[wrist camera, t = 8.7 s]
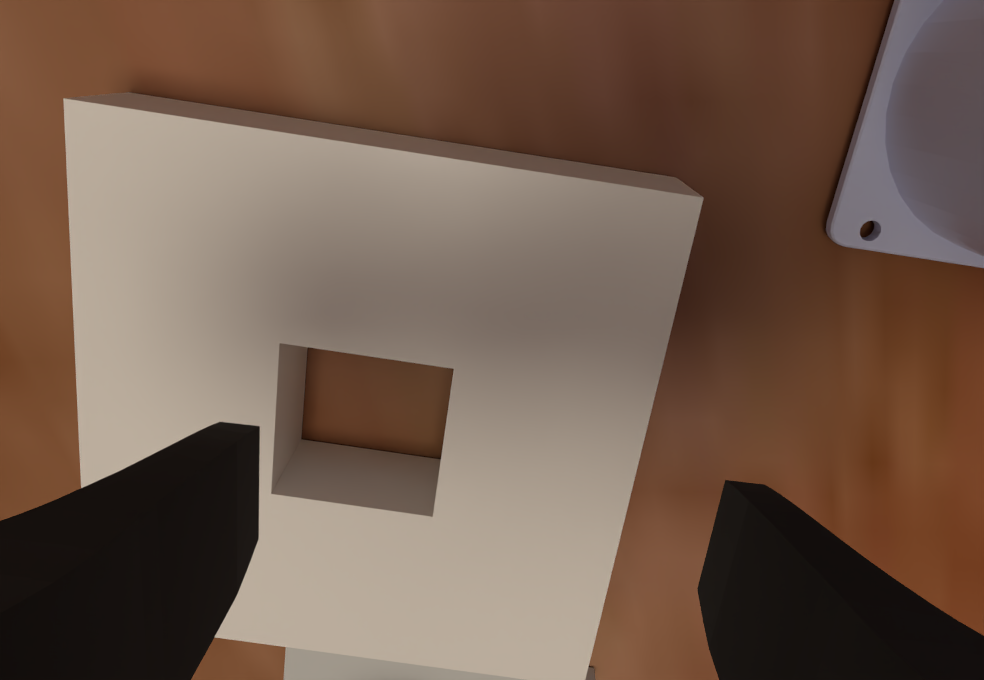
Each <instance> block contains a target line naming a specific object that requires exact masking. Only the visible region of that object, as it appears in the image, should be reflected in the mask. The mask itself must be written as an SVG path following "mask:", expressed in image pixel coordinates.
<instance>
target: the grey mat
mask: <svg viewBox="0 0 984 680" xmlns="http://www.w3.org/2000/svg"><path fill="white" fill-rule="evenodd" d="M284 680H525V679H517V678H510V677H503V676H495V675H488V674H481V673H473V672H466V671H459V670H451V669H444V668H437V667H429V666H422V665H415V664H407V663H400V662H393V661H385V660H378V659H371V658H363V657H356V656H349V655H341V654H334V653H327V652H319V651H312V650H305V649H297V648H290V647H286V653H285V667H284ZM585 680H595V672H594V668H592V667H588V671H587V675H586V679H585Z"/></svg>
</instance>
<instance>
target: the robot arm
mask: <svg viewBox="0 0 984 680" xmlns="http://www.w3.org/2000/svg"><path fill="white" fill-rule="evenodd" d="M867 221H873V223H874V230H873V231H872V233H871V234H870V235H869V236H867V237H863V238H861V236H860V229H861V227H862V225H863V224H864V223H866V222H867ZM826 232H827V235H828V237H829V238H830V239H831V240H832V241H833V242H835V243H837V244H839V245H841V246H844V247H850V248H857V249H863V250H870V251H876V252H883V253H889V254H896V255H902V256H909V257H915V258H922V259H928V260H935V261H941V262H948V263H954V264H961V265H967V266H974V267H980V268H984V0H894V3H893V6H892V10H891V13H890V16H889V19H888V23H887V26H886V29H885V32H884V36H883V39H882V42H881V46H880V49H879V52H878V55H877V59H876V62H875V65H874V68H873V72H872V75H871V78H870V82H869V85H868V88H867V91H866V95H865V98H864V101H863V104H862V108H861V111H860V114H859V118H858V121H857V124H856V127H855V131H854V134H853V137H852V140H851V144H850V147H849V150H848V154H847V157H846V160H845V163H844V167H843V170H842V173H841V176H840V180H839V183H838V186H837V190H836V193H835V196H834V199H833V203H832V206H831V209H830V212H829V216H828V219H827V223H826ZM259 455H260V426H254V425H245V424H236V423H228V422H218V423H215V424H213V425H210V426H208V427H206V428H204V429H202V430H200V431H197V432H195V433H193V434H191V435H189V436H187V437H185V438H183V439H182V440H180V441H178V442H176V443H174V444H172V445H170V446H168V447H166V448H164V449H162V450H160V451H158V452H156V453H154V454H152V455H150V456H148V457H146V458H144V459H142V460H140V461H138V462H136V463H134V464H132V465H130V466H128V467H126V468H124V469H122V470H120V471H118V472H116V473H114V474H112V475H109V476H107V477H105V478H103V479H101V480H98V481H96V482H94V483H92V484H90V485H87V486H85V487H83V488H81V489H79V490H76V491H74V492H72V493H70V494H68V495H65V496H63V497H61V498H59V499H56V500H54V501H52V502H49V503H47V504H44V505H42V506H39V507H37V508H34V509H32V510H29V511H26V512H24V513H21V514H19V515H16V516H13V517H10V518H7V519H5V520H2V521H0V680H191V678H192V676H193V675H194V673H195V671H196V669H197V667H198V666H199V664H200V662H201V660H202V659H203V657H204V655H205V653H206V651H207V650H208V648H209V646H210V644H211V642H212V641H213V639H214V637H215V635H216V633H217V631H218V630H219V628H220V626H221V624H222V622H223V620H224V619H225V617H226V615H227V613H228V611H229V609H230V608H231V606H232V604H233V602H234V600H235V598H236V596H237V594H238V592H239V589H240V587H241V584H242V582H243V579H244V577H245V574H246V572H247V569H248V566H249V564H250V561H251V558H252V556H253V553H254V550H255V548H256V545H257V542H258V539H259ZM698 595H699V600H700V606H701V611H702V617H703V622H704V627H705V632H706V637H707V641H708V646H709V650H710V653H711V656H712V659H713V662H714V665H715V668H716V671H717V674H718V677H719V680H984V636H983V635H981V634H979V633H978V632H976V631H974V630H973V629H971V628H969V627H968V626H966V625H964V624H962V623H961V622H959V621H957V620H956V619H954V618H953V617H951V616H949V615H948V614H946V613H945V612H943V611H941V610H940V609H938V608H937V607H935V606H934V605H932V604H931V603H929V602H928V601H926V600H925V599H923V598H922V597H920V596H919V595H917V594H916V593H914V592H913V591H911V590H910V589H908V588H907V587H905V586H904V585H903V584H901V583H900V582H898V581H897V580H895V579H894V578H892V577H891V576H889V575H888V574H887V573H885V572H884V571H882V570H881V569H880V568H878V567H877V566H875V565H874V564H873V563H871V562H870V561H869V560H867V559H866V558H865V557H863V556H862V555H860V554H859V553H858V552H856V551H855V550H854V549H852V548H851V547H850V546H848V545H847V544H846V543H844V542H843V541H842V540H840V539H839V538H838V537H837V536H835V535H834V534H833V533H831V532H830V531H829V530H827V529H826V528H825V527H823V526H822V525H821V524H819V523H818V522H817V521H816V520H814V519H813V518H812V517H810V516H809V515H808V514H806V513H805V512H804V511H802V510H801V509H800V508H798V507H797V506H796V505H794V504H793V503H792V502H790V501H789V500H787V499H786V498H785V497H783V496H782V495H780V494H779V493H777V492H776V491H774V490H773V489H771V488H769V487H768V486H766V485H763V484H754V483H745V482H737V481H728V480H725V484H724V488H723V491H722V495H721V499H720V503H719V507H718V511H717V515H716V519H715V523H714V527H713V531H712V534H711V538H710V542H709V546H708V550H707V554H706V558H705V562H704V566H703V570H702V574H701V577H700V581H699V585H698Z"/></svg>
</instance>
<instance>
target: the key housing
mask: <svg viewBox="0 0 984 680" xmlns="http://www.w3.org/2000/svg"><path fill="white" fill-rule="evenodd" d="M64 120H65V142H66V164H67V186H68V208H69V230H70V252H71V274H72V296H73V318H74V340H75V362H76V384H77V406H78V428H79V450H80V472H81V488H83V487H85V486H87V485H90V484H92V483H94V482H96V481H98V480H101V479H103V478H105V477H107V476H109V475H112V474H114V473H116V472H118V471H120V470H122V469H124V468H126V467H128V466H130V465H132V464H134V463H136V462H138V461H140V460H142V459H144V458H146V457H148V456H150V455H152V454H154V453H156V452H158V451H160V450H162V449H164V448H166V447H168V446H170V445H172V444H174V443H176V442H178V441H180V440H182V439H183V438H185V437H187V436H189V435H191V434H193V433H195V432H197V431H200V430H202V429H204V428H206V427H208V426H210V425H213V424H215V423H218V422H228V423H236V424H245V425H254V426H260V455H259V539H258V542H257V545H256V548H255V550H254V553H253V556H252V558H251V561H250V564H249V566H248V569H247V572H246V574H245V577H244V579H243V582H242V584H241V587H240V589H239V592H238V594H237V596H236V598H235V600H234V602H233V604H232V606H231V608H230V609H229V611H228V613H227V615H226V617H225V619H224V620H223V622H222V624H221V626H220V628H219V630H218V631H217V633H216V635H215V637H217V638H224V639H231V640H239V641H246V642H253V643H261V644H268V645H275V646H283V647H290V648H297V649H305V650H312V651H319V652H327V653H334V654H341V655H349V656H356V657H363V658H371V659H378V660H385V661H393V662H400V663H407V664H415V665H422V666H429V667H437V668H444V669H451V670H459V671H466V672H473V673H481V674H488V675H495V676H503V677H510V678H517V679H525V680H585V679H586V675H587V671H588V666H589V662H590V658H591V654H592V650H593V646H594V642H595V638H596V634H597V630H598V626H599V622H600V618H601V614H602V610H603V605H604V601H605V597H606V593H607V589H608V585H609V581H610V577H611V573H612V569H613V565H614V561H615V557H616V553H617V548H618V544H619V540H620V536H621V532H622V528H623V524H624V520H625V516H626V512H627V508H628V504H629V500H630V496H631V492H632V487H633V483H634V479H635V475H636V471H637V467H638V463H639V459H640V455H641V451H642V447H643V443H644V439H645V435H646V430H647V426H648V422H649V418H650V414H651V410H652V406H653V402H654V398H655V394H656V390H657V386H658V382H659V378H660V374H661V369H662V365H663V361H664V357H665V353H666V349H667V345H668V341H669V337H670V333H671V329H672V325H673V321H674V317H675V312H676V308H677V304H678V300H679V296H680V292H681V288H682V284H683V280H684V276H685V272H686V268H687V264H688V260H689V256H690V251H691V247H692V243H693V239H694V235H695V231H696V227H697V223H698V219H699V215H700V211H701V207H702V203H703V199H704V197H702V196H701V195H699V194H698V193H697V192H695V191H694V190H693V189H691V188H690V187H689V186H687V185H686V184H685V183H683V182H682V181H680V180H679V179H678V178H676V177H670V176H664V175H658V174H651V173H645V172H638V171H632V170H625V169H619V168H613V167H606V166H600V165H593V164H587V163H580V162H574V161H568V160H561V159H555V158H548V157H542V156H535V155H529V154H523V153H516V152H510V151H503V150H497V149H490V148H484V147H478V146H471V145H465V144H458V143H452V142H445V141H439V140H433V139H426V138H420V137H413V136H407V135H400V134H394V133H388V132H381V131H375V130H368V129H362V128H356V127H349V126H343V125H336V124H330V123H323V122H317V121H311V120H304V119H298V118H291V117H285V116H278V115H272V114H266V113H259V112H253V111H246V110H240V109H233V108H227V107H221V106H214V105H208V104H201V103H195V102H188V101H182V100H176V99H169V98H163V97H156V96H150V95H143V94H137V93H131V92H127V93H116V94H105V95H95V96H84V97H73V98H64ZM308 347H309V348H316V349H323V350H330V351H336V352H343V353H350V354H357V355H363V356H370V357H377V358H384V359H391V360H397V361H404V362H411V363H418V364H425V365H431V366H438V367H445V368H452V369H454V371H453V378H452V385H451V392H450V399H449V406H448V413H447V420H446V427H445V434H444V441H443V448H442V455H441V459H435V458H428V457H421V456H414V455H407V454H400V453H393V452H386V451H379V450H372V449H365V448H358V447H352V446H345V445H338V444H331V443H324V442H317V441H310V440H303V439H301V437H302V422H303V408H304V394H305V379H306V365H307V350H308Z"/></svg>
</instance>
